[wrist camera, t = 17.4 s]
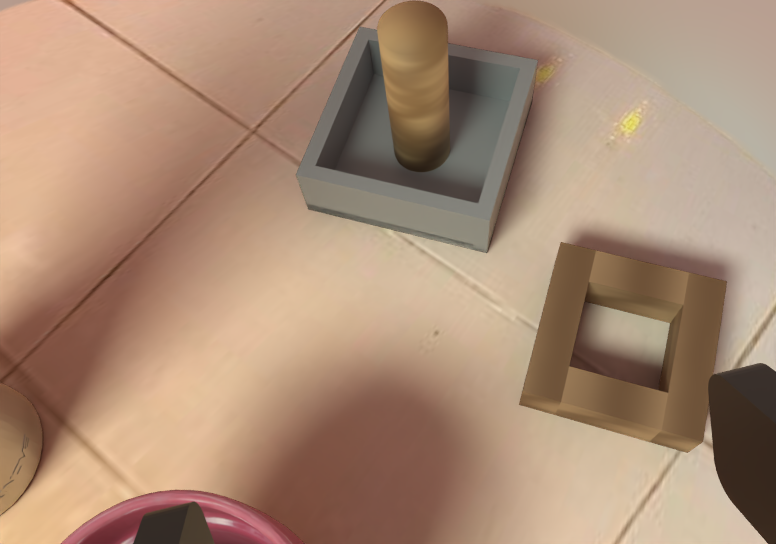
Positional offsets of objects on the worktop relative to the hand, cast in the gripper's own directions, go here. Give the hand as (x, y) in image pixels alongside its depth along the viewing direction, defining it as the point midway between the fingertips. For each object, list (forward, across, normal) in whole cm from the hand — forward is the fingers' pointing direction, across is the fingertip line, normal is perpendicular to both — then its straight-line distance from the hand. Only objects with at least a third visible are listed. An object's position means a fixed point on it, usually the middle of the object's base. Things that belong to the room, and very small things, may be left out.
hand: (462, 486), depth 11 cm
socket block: (+31, -13, +16) cm, 37 cm away
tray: (+43, -5, +3) cm, 44 cm away
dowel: (+43, -5, +3) cm, 43 cm away
